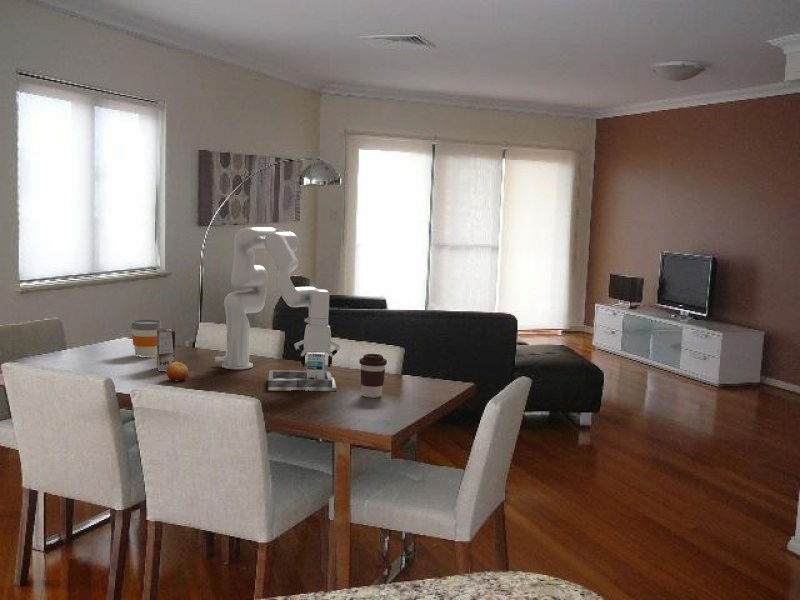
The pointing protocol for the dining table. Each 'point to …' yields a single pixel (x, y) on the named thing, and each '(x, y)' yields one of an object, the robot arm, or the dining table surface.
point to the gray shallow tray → (299, 381)
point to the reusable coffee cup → (145, 336)
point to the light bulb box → (316, 365)
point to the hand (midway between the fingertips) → (316, 366)
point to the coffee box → (165, 348)
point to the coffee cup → (372, 374)
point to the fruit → (177, 371)
